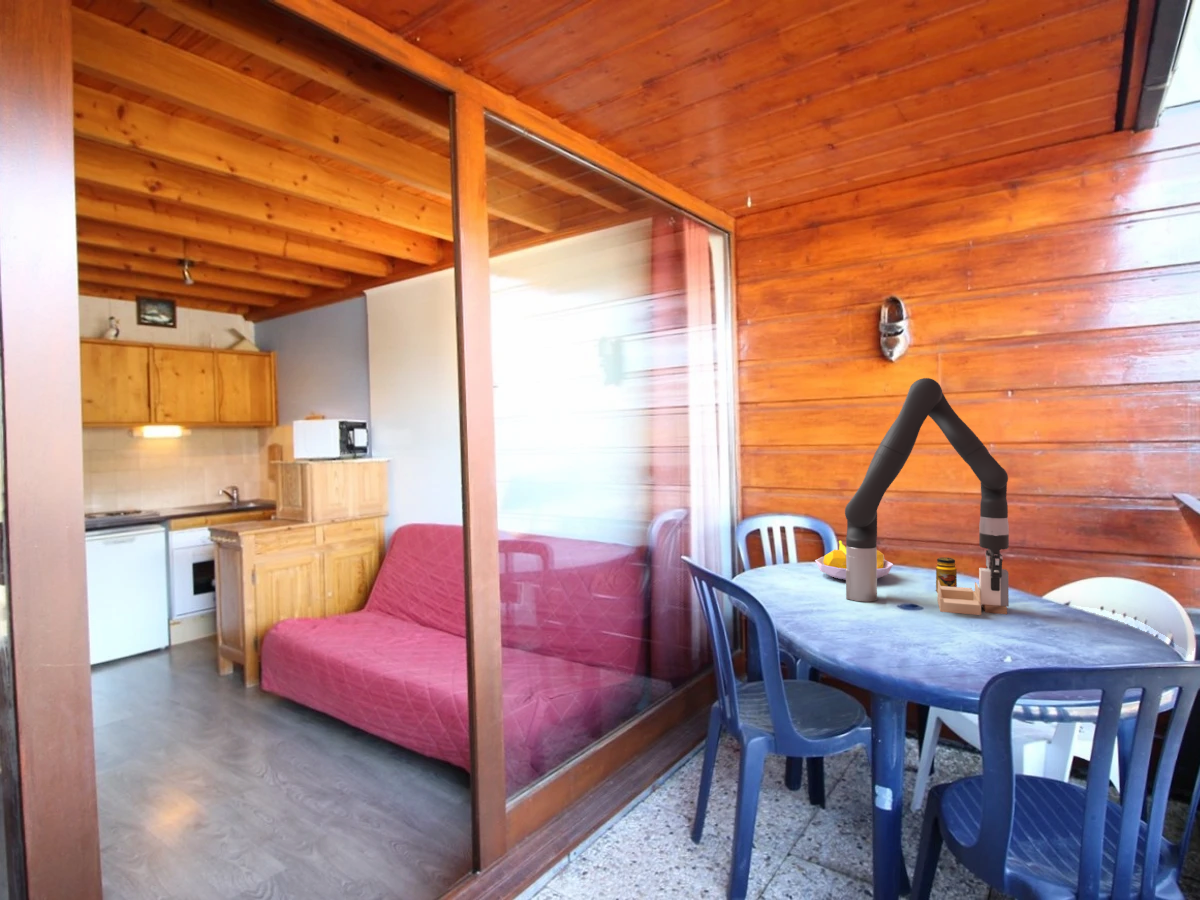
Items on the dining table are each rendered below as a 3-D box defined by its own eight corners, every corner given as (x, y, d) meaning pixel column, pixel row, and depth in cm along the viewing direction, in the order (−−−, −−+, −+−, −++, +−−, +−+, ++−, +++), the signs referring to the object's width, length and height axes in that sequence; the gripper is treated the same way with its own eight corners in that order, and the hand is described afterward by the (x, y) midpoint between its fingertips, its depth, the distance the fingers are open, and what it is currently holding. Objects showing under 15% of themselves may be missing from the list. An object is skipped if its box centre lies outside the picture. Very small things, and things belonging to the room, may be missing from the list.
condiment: (947, 598, 210) (947, 561, 209) (925, 592, 218) (925, 557, 217) (963, 595, 213) (963, 559, 212) (941, 589, 220) (940, 554, 220)
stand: (985, 614, 191) (985, 605, 191) (981, 607, 199) (981, 599, 198) (1007, 616, 189) (1007, 607, 189) (1002, 608, 196) (1002, 600, 196)
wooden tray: (941, 617, 190) (941, 591, 189) (936, 599, 208) (936, 576, 208) (982, 620, 185) (982, 594, 185) (974, 602, 204) (974, 578, 204)
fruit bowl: (895, 588, 224) (895, 555, 223) (813, 583, 233) (813, 552, 233) (890, 571, 250) (890, 541, 249) (817, 567, 260) (816, 539, 259)
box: (981, 604, 193) (980, 570, 193) (979, 600, 197) (979, 567, 197) (1008, 606, 190) (1008, 572, 190) (1006, 602, 194) (1006, 569, 194)
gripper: (976, 527, 201) (976, 581, 202) (982, 535, 188) (982, 593, 189) (1004, 528, 198) (1004, 583, 199) (1012, 536, 185) (1012, 595, 186)
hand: (993, 588), depth 194 cm, fingers open, 5 cm apart
